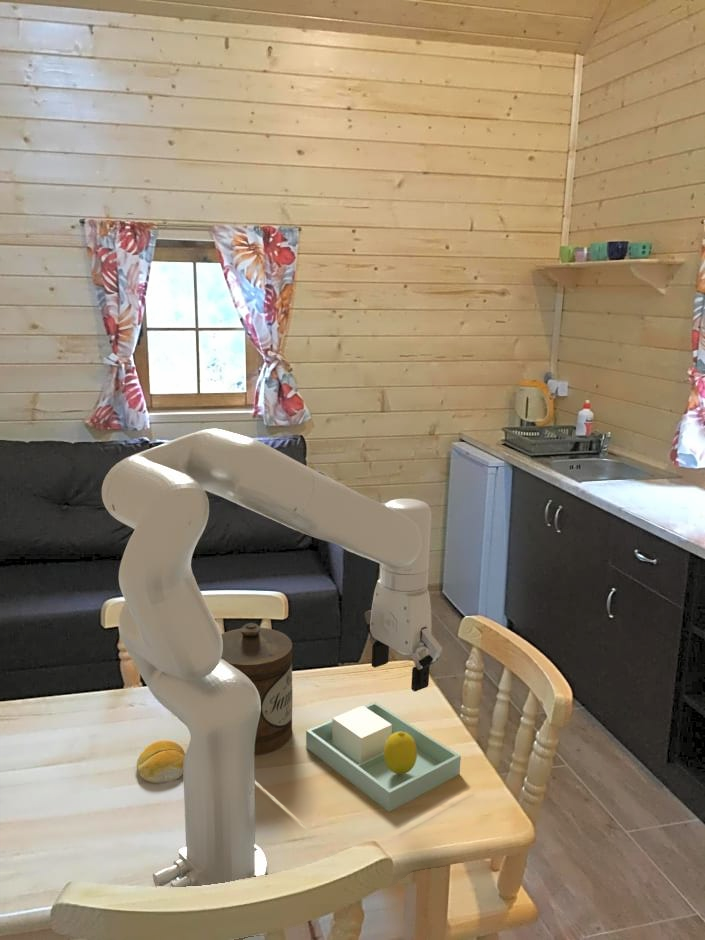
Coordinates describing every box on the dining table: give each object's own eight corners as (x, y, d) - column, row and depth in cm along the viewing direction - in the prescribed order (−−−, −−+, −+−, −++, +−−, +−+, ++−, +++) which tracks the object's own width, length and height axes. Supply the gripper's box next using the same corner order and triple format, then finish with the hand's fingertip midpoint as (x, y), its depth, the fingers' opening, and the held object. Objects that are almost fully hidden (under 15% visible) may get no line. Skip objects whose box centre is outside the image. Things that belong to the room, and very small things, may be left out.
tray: (388, 815, 125) (389, 792, 124) (306, 750, 142) (306, 730, 141) (459, 776, 135) (460, 755, 134) (374, 720, 152) (375, 701, 151)
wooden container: (289, 760, 139) (289, 643, 134) (204, 758, 139) (200, 642, 134) (294, 714, 154) (295, 607, 148) (217, 713, 153) (215, 606, 148)
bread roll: (181, 749, 142) (180, 729, 141) (191, 778, 134) (190, 757, 133) (133, 759, 139) (132, 738, 138) (141, 789, 131) (140, 767, 130)
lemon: (413, 786, 131) (415, 743, 130) (380, 781, 132) (382, 739, 131) (417, 766, 137) (419, 725, 135) (385, 762, 138) (387, 720, 136)
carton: (360, 764, 137) (361, 738, 136) (332, 743, 143) (332, 718, 142) (391, 749, 142) (392, 724, 140) (362, 729, 148) (362, 705, 146)
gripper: (351, 566, 131) (348, 662, 134) (424, 600, 117) (418, 705, 121) (386, 557, 135) (382, 651, 139) (460, 589, 122) (453, 691, 126)
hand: (399, 676), depth 130 cm, fingers open, 9 cm apart
